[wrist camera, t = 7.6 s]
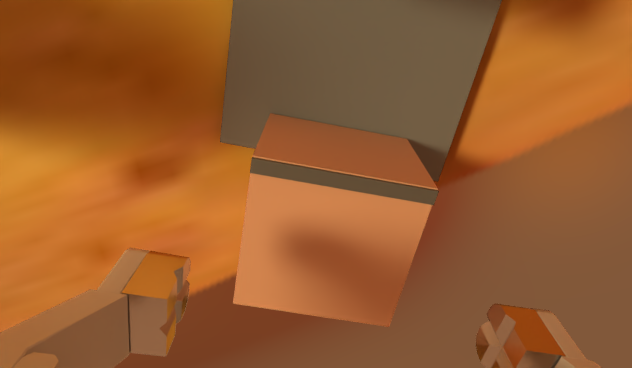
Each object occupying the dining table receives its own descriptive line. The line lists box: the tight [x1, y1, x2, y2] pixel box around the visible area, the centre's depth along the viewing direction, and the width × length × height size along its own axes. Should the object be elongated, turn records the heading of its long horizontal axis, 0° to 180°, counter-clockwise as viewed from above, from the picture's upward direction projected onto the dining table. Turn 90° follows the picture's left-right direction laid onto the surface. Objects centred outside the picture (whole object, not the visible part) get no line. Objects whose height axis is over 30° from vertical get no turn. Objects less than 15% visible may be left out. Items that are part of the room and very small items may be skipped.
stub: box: [233, 113, 439, 327], centre depth 16 cm, size 6×6×5 cm
